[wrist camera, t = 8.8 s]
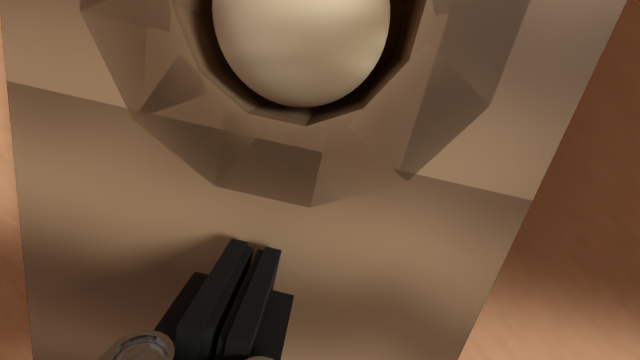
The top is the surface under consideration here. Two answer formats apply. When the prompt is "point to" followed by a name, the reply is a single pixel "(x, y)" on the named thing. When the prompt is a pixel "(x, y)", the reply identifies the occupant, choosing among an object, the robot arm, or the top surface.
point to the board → (283, 169)
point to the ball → (302, 45)
